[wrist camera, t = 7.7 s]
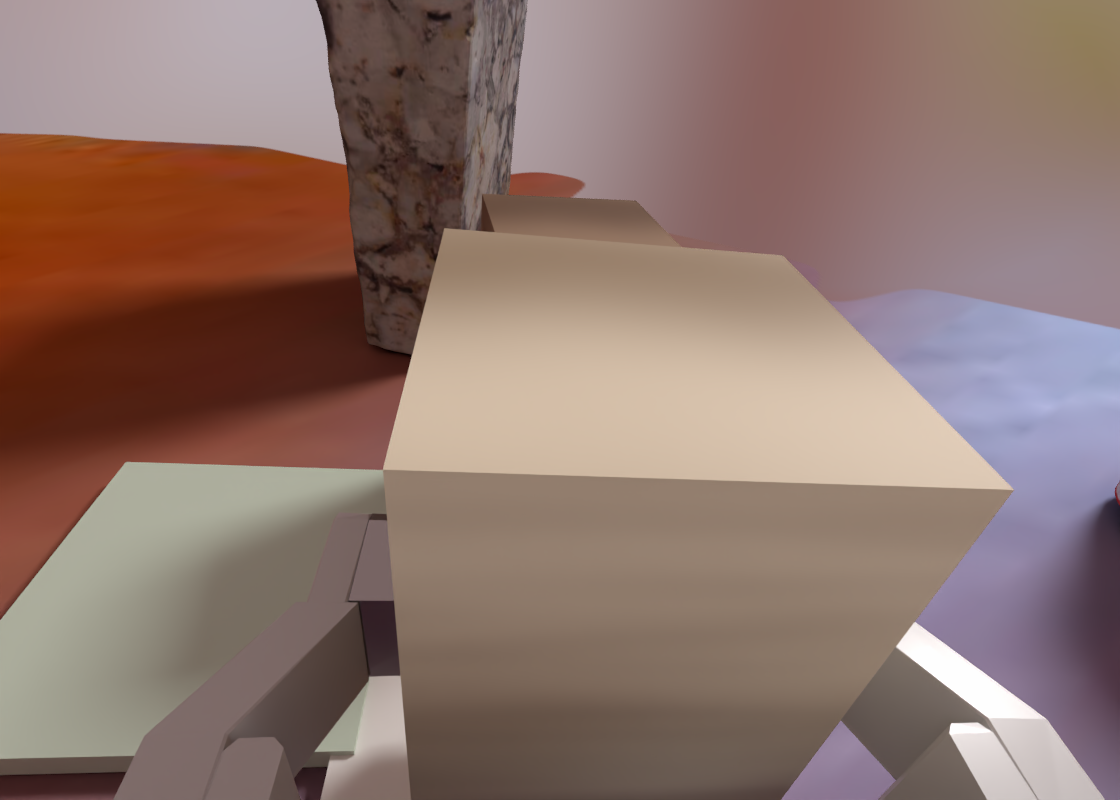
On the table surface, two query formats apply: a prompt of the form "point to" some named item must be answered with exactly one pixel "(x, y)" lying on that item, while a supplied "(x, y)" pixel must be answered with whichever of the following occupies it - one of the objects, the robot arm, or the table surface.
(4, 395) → the table surface
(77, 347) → the table surface
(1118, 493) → the soda can
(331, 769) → the tile
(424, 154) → the stone block
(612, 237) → the walnut block
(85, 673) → the sage mat
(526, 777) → the birch block
